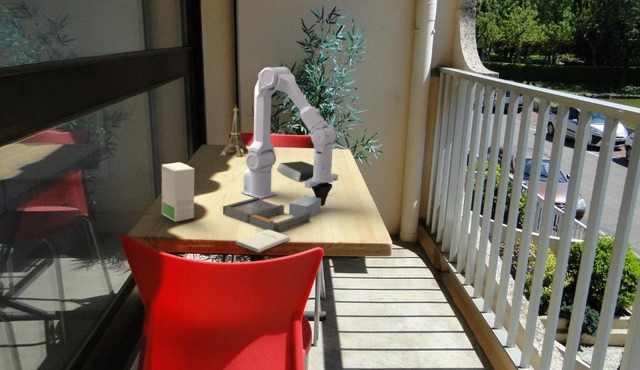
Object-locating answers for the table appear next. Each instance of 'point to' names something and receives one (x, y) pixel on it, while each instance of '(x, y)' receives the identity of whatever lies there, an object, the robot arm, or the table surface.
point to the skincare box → (177, 191)
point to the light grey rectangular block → (305, 206)
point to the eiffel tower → (235, 135)
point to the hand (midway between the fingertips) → (320, 205)
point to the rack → (263, 214)
